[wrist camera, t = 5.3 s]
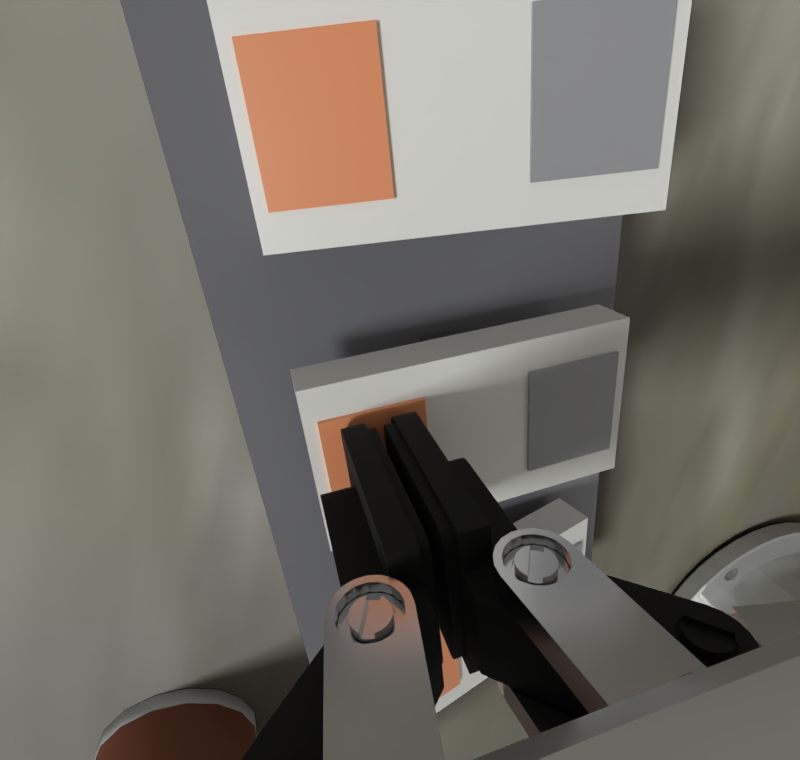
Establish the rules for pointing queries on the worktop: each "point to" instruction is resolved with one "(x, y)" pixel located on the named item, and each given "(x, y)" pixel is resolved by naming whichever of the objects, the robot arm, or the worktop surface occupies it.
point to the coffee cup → (181, 728)
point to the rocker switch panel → (334, 292)
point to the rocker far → (549, 517)
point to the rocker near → (448, 113)
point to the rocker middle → (482, 399)
